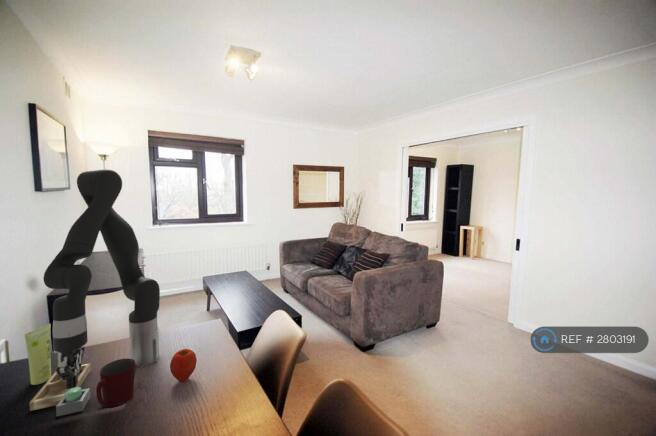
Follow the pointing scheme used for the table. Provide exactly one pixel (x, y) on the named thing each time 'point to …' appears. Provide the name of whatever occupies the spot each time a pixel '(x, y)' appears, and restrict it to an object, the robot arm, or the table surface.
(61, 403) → the grey square dish
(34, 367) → the tube
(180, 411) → the table surface
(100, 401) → the mug
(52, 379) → the wooden compartment tray
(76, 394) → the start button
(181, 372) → the apple
